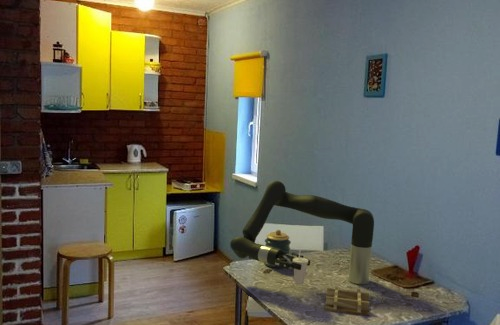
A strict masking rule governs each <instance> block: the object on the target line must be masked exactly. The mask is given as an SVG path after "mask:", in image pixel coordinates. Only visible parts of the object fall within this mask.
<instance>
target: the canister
mask: <svg viewBox="0 0 500 325" xmlns="http://www.w3.org/2000/svg"><path fill="white" fill-rule="evenodd" d="M264 242H265V245H264V246H271V247H275V248H278V249H282V250H283V251H284V253H285V254H290V255H291V248H290V244H291V240H290V236H289V235H288V234H286V233H284V232H281V230H280V229H276V230H275V231H274V232H270V233H268V234H267V235H266V238H265V239H264ZM263 264H264V265H265V266H266V267H269V268H273V269H281V268H280V267H276V266H272V265H269V264H265V263H263Z"/></svg>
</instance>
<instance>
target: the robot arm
mask: <svg viewBox="0 0 500 325" xmlns="http://www.w3.org/2000/svg"><path fill="white" fill-rule="evenodd" d="M274 206H277V207H281V208H287V209H291V210H296V211H298V212H302V213H305V214H308V215H310V216H314V217H318V218H321V219H324V220H325V219H327V220H338V221H342V222H343V221H344V222H346V223H349V224H351V225H352V231H351V233H352V234H351V242H350V243H351V244H350V252H349V253H350V256H349V266H348V267H349V270H348V281H349V282H350V283H352V284H356V285H367V284H369V282H370V273H371V260H372V259H371V258H372V248H373V240H374V228H375V218H374V215H373V214H372V212H371V211H370V210H368V209H365V208H360V207H356V206H355V207H354V206H350V205H349V206H348V205H346V204H342V203H339V202H337V201H334V200H331V199H330V198H329V199H328V198H327V197H326V198H325V197H321V196H318V195H314V194H313V195H311V194H308V195H307V194H305V195H304V194H303V195H298V194H294V193H289V192H288V191H286V186H285V184H284V183H283V182H282V181H279V180H273V181H271V182H269V183H268V185H267V186H266V189H265V191H264V194H263V196H262V198H261V200H260V202H259V204H258V206H256V209H255V211H254V212H253V214H252V215H251V217H250V218H249V219H248V221H247V223H246V224H245V226H244V227H243V229H242V235H243V236H235V237H233V238H232V239H231V240H230V244H229V245H230V249H231V250H232V251H233V253H234V254H235V255H236V256H237V258H239V259H246V258H248V257H249V258H250V259H251V260H253V261H257V262H260V263H263V264H264V263H265V264H269V265H272V266H276V267H280V268H279V269H284V270H289V269H293V270H294V269H297V270H301V264H298V263H294V262H293V259H294V258H299V253H295V252H291V253H290V254H285V253H284V251H283V250H282V249H278V248H275V247H271V246H265V245H264V244H260V243H256V240H257V237H258V235H259V234H260V232H261V231H262V229H263V227H264V226H265V224H266V222H267V219H268V218H269V215H270V214H271V211H272V209H273V207H274ZM300 258H305V256H304V255H302V254H300ZM307 260H308V264H307V267H308V266H310V265H311V260H310V259H307ZM265 264H264V265H265Z"/></svg>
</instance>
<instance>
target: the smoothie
mask: <svg viewBox="0 0 500 325" xmlns="http://www.w3.org/2000/svg"><path fill="white" fill-rule="evenodd" d="M301 251H302V250H301V248H299V249H298V255H299V258H294V259H293V262H294V263H298V264H301V270H297V269H294V268H293V277H294V283H295V284H296V285H300V286H301V285H304V283H305V278H306V272H307V269H308V268H307V267H308V265H307V264H308V260H309V259H307V258H305V257H303V258H300V255H301Z"/></svg>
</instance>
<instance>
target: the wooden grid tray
mask: <svg viewBox="0 0 500 325" xmlns="http://www.w3.org/2000/svg"><path fill="white" fill-rule="evenodd" d="M369 296H370V293H369V292H364V291H362V290H361V289H360V288H357V291H355V290H350V289H349V290H347V289H341V288H340V289H339V286H338V285H336V286H334V287H333V288H331V287H327V288H326V296H325V306H324V311H326V312H327V311H328V312H336V313H344V314H351V315H357V316H363V317H364V316H366V317H370V303H371V302H370V301H369V299H370V298H369Z"/></svg>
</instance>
